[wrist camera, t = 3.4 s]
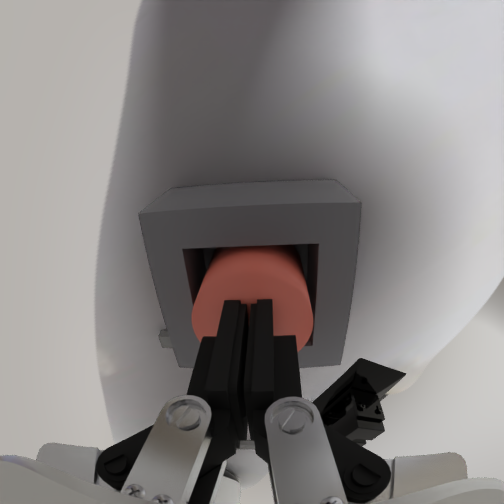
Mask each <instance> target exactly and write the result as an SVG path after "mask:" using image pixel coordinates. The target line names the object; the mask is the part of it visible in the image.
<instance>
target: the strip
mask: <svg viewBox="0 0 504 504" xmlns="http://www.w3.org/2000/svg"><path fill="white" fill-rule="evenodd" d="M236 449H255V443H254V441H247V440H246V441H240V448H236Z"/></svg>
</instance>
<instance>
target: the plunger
mask: <svg viewBox="0 0 504 504" xmlns="http://www.w3.org/2000/svg"><path fill="white" fill-rule="evenodd" d="M257 299H272V300H273V334H274V336H283V335H295V336H296V343H297V352H299V351H300V350H301V349H302V348H303V347H304V345H305V344H306V343H307V341H308V339H309V338H310V336H311V333H312V329H313V314H312V309H311V304H310V299H309V294H308V290H307V285H306V280H305V276H304V271H303V267H302V262H301V259H300V256H299V254H298V252H297V250H296V248H295V247H294V246H293V244H289V245H263V246H238V247H217V248H216V249H215V251H214V253H213V255H212V258H211V261H210V263H209V266H208V268H207V271H206V274H205V276H204V279H203V282H202V284H201V287H200V290H199V292H198V295H197V298H196V301H195V303H194V306H193V309H192V327H193V330H194V333H195V335H196V337H197V338H198V340H199V341H200V343H201V340H202V338H203V336H216V335H217V331H218V326H219V322H220V317H221V313H222V309H223V304H224V301H225V300H240V301H241V304H247V313H248V324H249V320H250V308H251V304H257Z"/></svg>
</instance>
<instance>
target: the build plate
mask: <svg viewBox="0 0 504 504" xmlns="http://www.w3.org/2000/svg"><path fill="white" fill-rule="evenodd" d="M405 375H406V373H403V372H400V371H397V370H394V369H391V368H388V367H385V366H382V365H380V364H377V363H374V362H371V361H368V360H365V359H363V358H360V359H358V360H357V361H356V362H355V363H354V364H353V365H352V366H351V367H350V368H349V369H348V370H347V371H346V372H345V373H344V374H343V375H342V376H341V377H340V378H339V379H338V380H337V381H336V382H334V383H333V384H332V385H331V386H330V387H329V388H328V389H327V390H326V391H325V392H323V393H322V394H321V395H320V396H319V397H318V398H317V399H316V400H314V401H313V402H312V403H313V404H314V405H315V406H316V407H317V409H318V411H319V413H320V416H321V419H322V422H323V423H324V424H325V425H327V426H328V427H330V428H332V429H333V430H335V431H336V432H338V433H340V434H341V435H343V436H345V437H346V438H348V439H350V440H351V441H353V442H355V443H357V444H358V445H360V446H363V445H365V444H366V440H373V439H374V438H376V437H377V436H378V435H380V434H381V433H383V432H384V431H385V430H384V426H383V422H382V421H383V420H385V418H384V414H383V411H382V407H381V404H380V401H381V400H382V399H384V398H385V397H386V396H387V395H389V394H385V393H387V392H388V391H389V390H390V389H391V388H392V387H393V386H394V385H395V384H397V383H398V382H399V381H400V380H401V379H402V378H403V377H404V376H405Z"/></svg>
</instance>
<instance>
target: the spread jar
mask: <svg viewBox="0 0 504 504" xmlns="http://www.w3.org/2000/svg"><path fill="white" fill-rule="evenodd" d="M240 493H241V488H240V483H239V481H238V479H237V478H236V477H235V476H234V475H233V474H231V473H230V472H229V471H227V470H226V469H225V471H224V474H223V477H222V480H221V484H220V487H219V490H218V493H217V496H216V499H215V502H214V504H240Z"/></svg>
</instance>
